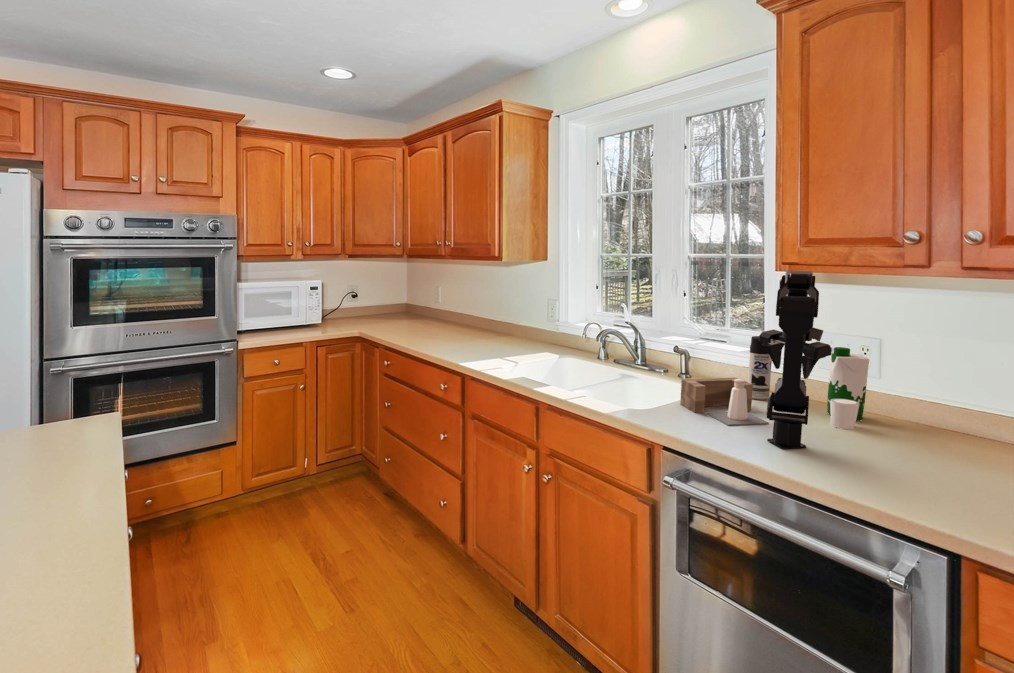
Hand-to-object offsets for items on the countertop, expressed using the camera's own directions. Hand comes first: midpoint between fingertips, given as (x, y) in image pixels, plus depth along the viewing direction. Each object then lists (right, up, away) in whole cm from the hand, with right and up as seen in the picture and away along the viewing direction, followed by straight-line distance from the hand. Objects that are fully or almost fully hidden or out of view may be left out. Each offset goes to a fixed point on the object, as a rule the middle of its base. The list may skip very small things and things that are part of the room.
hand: (791, 373), depth 155 cm
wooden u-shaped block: (-14, -12, +19) cm, 26 cm away
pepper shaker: (-12, -13, +7) cm, 19 cm away
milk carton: (+20, -13, +9) cm, 26 cm away
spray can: (+5, -10, +31) cm, 33 cm away
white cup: (+14, -15, 0) cm, 20 cm away
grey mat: (-12, -13, +7) cm, 19 cm away
